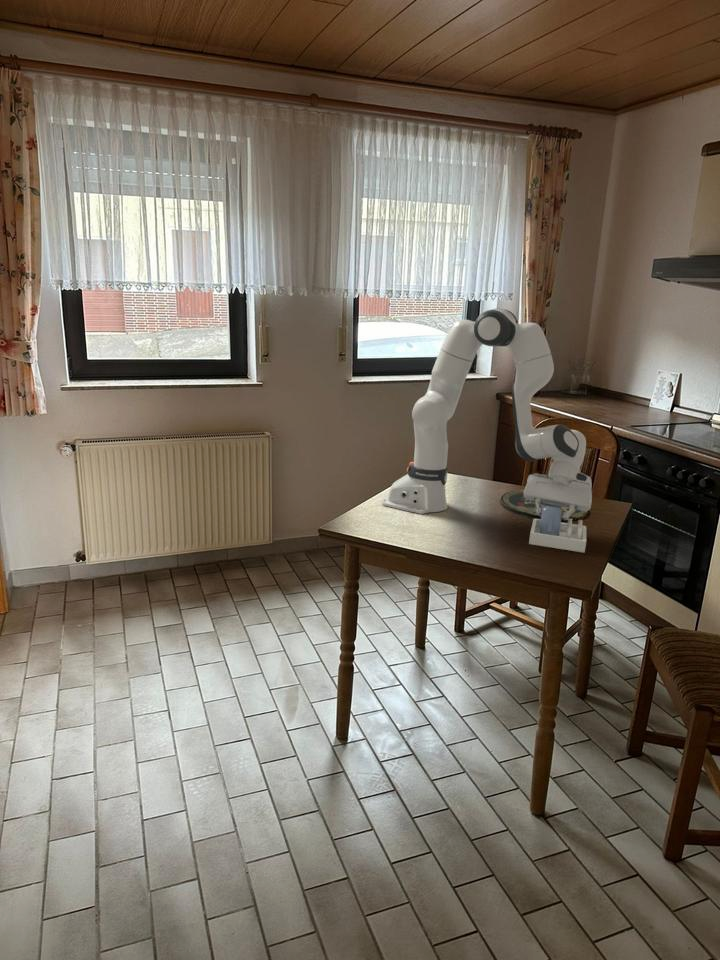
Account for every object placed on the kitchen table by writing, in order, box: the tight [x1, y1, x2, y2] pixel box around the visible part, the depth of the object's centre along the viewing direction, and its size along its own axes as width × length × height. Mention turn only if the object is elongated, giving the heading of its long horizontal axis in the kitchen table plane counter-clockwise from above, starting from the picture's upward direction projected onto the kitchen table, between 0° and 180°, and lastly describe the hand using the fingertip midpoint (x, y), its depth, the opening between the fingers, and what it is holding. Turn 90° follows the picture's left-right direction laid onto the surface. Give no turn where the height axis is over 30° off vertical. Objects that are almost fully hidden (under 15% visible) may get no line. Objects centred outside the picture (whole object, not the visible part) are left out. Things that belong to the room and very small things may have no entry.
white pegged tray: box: [528, 518, 587, 553], centre depth 204 cm, size 16×14×6 cm
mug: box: [539, 505, 563, 536], centre depth 204 cm, size 6×8×9 cm
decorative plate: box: [499, 489, 588, 522], centre depth 236 cm, size 30×2×30 cm
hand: (551, 516), depth 203 cm, fingers open, 7 cm apart
